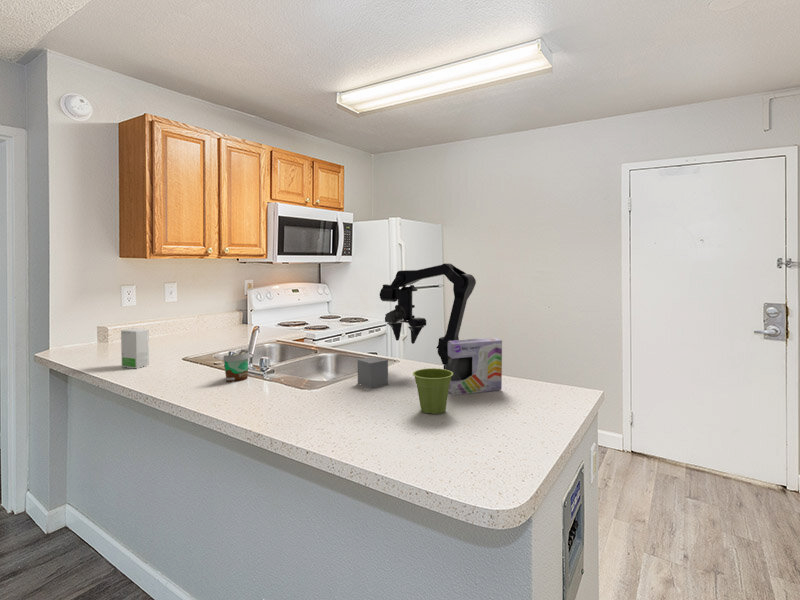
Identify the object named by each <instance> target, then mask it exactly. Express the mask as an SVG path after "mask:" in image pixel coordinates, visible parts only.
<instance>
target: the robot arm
mask: <svg viewBox="0 0 800 600" xmlns="http://www.w3.org/2000/svg"><path fill="white" fill-rule="evenodd" d="M439 276H444V277H446V278H447V280H448V281H450V282H451V283H452V284H453V288H452V291H453V294H454V295H453V296H454V299H453V303H452V306H451V311H450V315H449V319H448V323H447V329H446V332H445V335H444V336H442V337H439V338H438V343H437V347H436V349H437V355H438V356H439V357H440V360H441V364H442V365H443V369H445V370H447V365H448V341H454V340H460V338H459V334H460V331H461V327H462V324H463V319H464V315H465V311H466V310H465V309H466V307H467V306H466V305H467V302H468V299H469V298H470V296H471V294H472V293H473V291H474V289H475V287H476V284H477V280H476V278H475V277H474V275H473V274H470V273H466V272H464V271H463V270H461V269H460V268H458V267H456V265H453V264H452V263H448V262H447V263H442V264H439V265H434V266H429V267H425V268H421V269H410V270H408V269H407V270H406V269H405V270H399V271H397V272H396V274H395V277H394V279H393V281H392V282H391V284H386V283H385V284H382V288H381V289H380V291H379V298H380V300H381V302H389V303H391V302H392V303H396V302H397V304H396V305H395V306H394V309H393V310H391V311H389V312H387V313H386V314H385V317H384V322H385V323H386V324H387V325H388V326H389V327H391V330H392V331H393V335H394V338H395V340H396V341H397V342H398V341H399V340H400V337H401V332H402V326H403V323H406V324H408V325H409V326H408V327H407V328H408V329H409V330H410V342H411V344H412V345H413V344H415V343H416V341H417V339H418V337H419V334H420V333H421V331H422V329H423V328H425V327H426V326H427V319H426V318H424V317H419V316H418V317H416V316H415V315H414V314H413V309H414V308H415V307H416V306H415V304H413V292H418V288H417V287H415V285H414V284H415V283H417V282H420V281H421V280H424V279H430V278H434V277H439Z"/></svg>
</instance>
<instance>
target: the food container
mask: <svg viewBox="0 0 800 600" xmlns="http://www.w3.org/2000/svg"><path fill="white" fill-rule="evenodd" d="M250 358H251V354H250V351H249V350H247V349H240V351H239V352H237V353H235V352H234V353H232V354H230V355H223V357H222V359H223V360H222V361H223V363H224V371H225V380H226V383H238V382H244V381H245V380H248V377H249V375H248V372H249V359H250Z"/></svg>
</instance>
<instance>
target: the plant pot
mask: <svg viewBox="0 0 800 600" xmlns="http://www.w3.org/2000/svg"><path fill="white" fill-rule="evenodd" d="M412 376H414V380H415V384H416V388H417V394H418V400H419V405H420V411H421V412H423V413H425V414H432V415H438V414H443V413H445V411H446V409H447V403H448V398H449V397H448V396H449V392H448V391H449V384H450V382H451V376H453V372H451V371H449V370H445V369H444V368H437V367H435V368H433V367H432V368H422V369H421V368H420V369H417V370H415V371H413V372H412Z"/></svg>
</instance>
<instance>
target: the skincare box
mask: <svg viewBox="0 0 800 600" xmlns="http://www.w3.org/2000/svg"><path fill="white" fill-rule="evenodd" d="M120 336H121V337H120V340H121V342H120V345H121V351H120V352H121V368H125V367H127V368H126V369H133V368H138V369H141V368H140V367H142V368H144V367H143V366H146V367H148V366H147V365H150V360H149V359H150V353H149V352H150V350H149V349H150V347H149V345H150V344H149V338H150V337H149V329H145V328H134V327H132V328H128V329H127V328H126V329H122V330H120Z"/></svg>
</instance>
